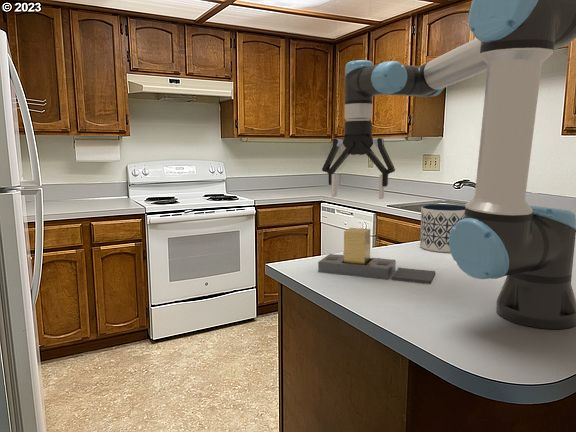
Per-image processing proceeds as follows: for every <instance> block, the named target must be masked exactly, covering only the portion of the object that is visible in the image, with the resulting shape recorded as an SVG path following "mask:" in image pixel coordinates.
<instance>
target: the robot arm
mask: <svg viewBox="0 0 576 432" xmlns="http://www.w3.org/2000/svg"><path fill="white" fill-rule="evenodd" d="M468 27H469V30H470V32H472V36H473V37H475V38H474V39H472V40H470V41H468V42H465V43H464V44H461V45H460V46H458V47H456V48H454V49H452V50H449V51H448V52H446V53H444V54H441V55H439V56H438V57H437V56H436V57H435V58H433V59H431V60H430V61H428V62H426V63H423V64H421V65H411V64H410V65H406V64H403V63H401V62H400V61H396V60H390V61H383V62H381V63H377V64H373V61H371V60H366V59H359V60H358V59H357V60H352V61H348V62H347V63H346V64H345V67H344V68H345V69H344V70H345V71H344V76H343V77H344V79H343V80H344V120H346V121H345V122H344V131H343V132H344V138H343V139H341V138H340V139H339V138H334V139H333V140H332V147H331V149H330V151H329V154H328V156H327V158H326V159H325V162H324V164H323V166H322V168H321V170H322V172H325V173H327V174H328V185H329V186H331V198H336V197H338V173H336V171H337V170H338V169H339V167H340V166H341V165H343V163H344V161H345V160H346V159H347V158H348V157H349V156H350V155H352V156H355V155H359V156H364V155H366V157H368V158H369V159H370V161H371V162H372V163H373V164H374V165H375V167H376V168H377V169H378V170H379V172H381V174H379V176H378V177H379V179H378V182H379V185H378V200H383V199H384V198H385V188H386V187H388V184H389V174H392V173H395V171H396V168H395V166H394V164H393V162H392V159H391V158H390V156H389V154H388V151H387V149H386V146H385V140H384V137H378V138H375V139H373V122H372V121H371V120H372V119H373V102H374V101H373V97H376V96H407V97H420V98H421V97H422V98H429V97H436V96H439V95H440V94H441V93H442V92H443V91H444V89H445V88H447V87H449V86H452V85H454V84H456V83H459V82H462V81H464V80H465V81H466V80H467V79H469V78H472V77H475V76H478V75H479V74H482V73H484V72H486V80H485V90H484V99H483V110H482V117H481V118H482V120H481V131H480V138H479V150H478V159H477V169H476V170H477V171H476V180H475V188H474V189H475V190H474V197H473V198H471V199H470V200H469V201H467V202H466V203H465V205H464V206H465V213H464V219H462V220H460V221H458V222H457V223H456V224H455V226H453V227H452V229H451V231H450V235H449V247H450V252H451V253H450V254H451V257H452V259H453V261H455V262H456V265H457V267H458V268H459V270H461V271H462V272H463V273H464V274H466V275H468V276H469V277H471V278H474V279H477V280H487V279H491V280H496V279H501V278H503V277H505V280H504V283H503V285H502V287H501V290H500V292H499V293H498V296H497V298H496V303H495V305H496V306H495V311H496V313H497V314H498V315H499V316H500V317H502V318H504V319H505V320H507V321H510V322H513V323H515V324H519V325H522V326H525V327H526V326H527V327H532V328H538V329H547V330H549V329H550V330H560V329H561V330H562V329H570V328H572V327H575V326H576V297H575V292H574V289H573V286H572V277H573V265H574V254H575V246H576V244H575V242H576V213H574V212H573V211H571V210H570V209H569V210H568V209H561V208H554V207H546V206H536V205H529V204H528V203H527V201H526V195H527V186H528V179H529V169H530V164H531V163H530V162H531V154H532V148H533V147H532V146H533V139H534V138H533V137H534V129H535V123H536V115H537V107H538V106H537V105H538V97H539V90H540V81H541V73H542V67H543V63H544V62H545V61H547V59H549V58H550V57H551V56H552V55H554V51H555V50H557V49H560V48H562V47H565V46H566V45H568V44H569V43H571V42H573V41H574V40H575V39H576V0H472V3H471V5H470V9H469V13H468ZM342 145H343V146H344V148H345V149H344V150H343V151H342V153H341V154H340V156H339V157H338V158H337V159H336V160H335V162H333V161H334V159H335V157H336V156H337V153H338V152H339V149H340V147H341V146H342ZM373 145H375V147H376V148H378V151H379V153H380V155H381V157H382V159H383V162H384V163H385V165H384V164H383V163H382V162H381V160H380V159H379V158H378V156H377V155H376V154H375V152H374V151H373V150H372V146H373Z"/></svg>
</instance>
